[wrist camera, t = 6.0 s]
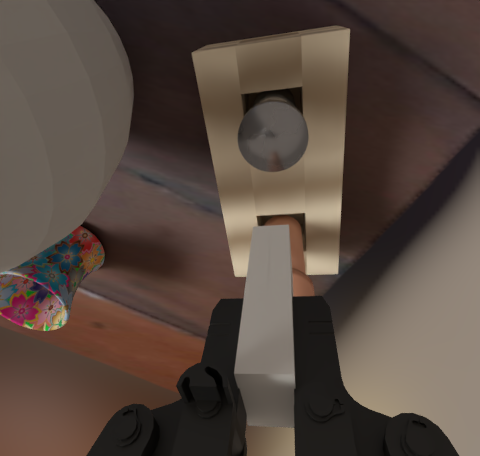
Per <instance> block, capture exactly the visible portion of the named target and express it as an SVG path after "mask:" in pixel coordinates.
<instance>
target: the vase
mask: <svg viewBox="0 0 480 456" xmlns="http://www.w3.org/2000/svg"><path fill="white" fill-rule="evenodd" d="M133 100H134V88H133V76H132V72H131V68H130V64H129V59H128V56H127V54H126V51H125V49H124V46H123V44H122V42H121V39H120V37H119V35H118V34H117V32H116V30H115V29H114V27H113V25H112V23H111V22H110V20H109V18H108V17H107V16H106V14H105V13H104V12H103V11H102V9H101V8H100V7H99V6H98V5H97V3H96V2H95V1H94V0H0V273H2V272H4V271H7V270H9V269H12V268H14V267H17V266H19V265H21V264H22V263H24V262H26V261H27V260H29V259H31V258H32V257H34V256H35V255H37V254H39V253H40V252H42V251H44V250H45V249H47V248H48V247H50V246H52V245H53V244H55V243H57V242H58V241H60V240H61V239H63V238H65V237H66V236H67V235H69V234H70V233H71V232H72V231H74V230H75V229H76V228H77V227H79V226H80V225H81V224H82V223H83V222H84V220H85V219H86V218H87V216H88V215H89V213H90V212H91V211H92V209H93V208H94V206H95V205H96V203H97V201H98V200H99V198H100V196H101V194H102V192H103V191H104V189H105V187H106V185H107V184H108V182H109V180H110V178H111V177H112V175H113V173H114V171H115V170H116V168H117V166H118V164H119V163H120V161H121V159H122V156H123V154H124V151H125V148H126V145H127V143H128V139H129V131H130V123H131V116H132V108H133Z"/></svg>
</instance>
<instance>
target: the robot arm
mask: <svg viewBox="0 0 480 456" xmlns="http://www.w3.org/2000/svg"><path fill="white" fill-rule="evenodd" d="M176 386H177V388H178V391H179V393H180V395H181V397H182V399H180V400H179V401H176V402H174V403H172V404H169V405H165V406H163V407H159V408H156V409H153V410H150V409H149V408H147V407H146V406H144V405H142V404H132V405H129V406H126V407H124V408H122V409H121V410H119V411H118V412H116V413H115V414H114V415H113V417H112V418H111V419H110V420H109V421H108V423H107V424H106V426H105V428H104V429H103V431H102V432H101V434H100V435H99V437H98V438H97V440H96V442H95V443H94V445H93V446H92V448H91V450H90V451H89V453H88V454H87V456H247V445H246V438H245V431H246V419H247V423H248V425H249V426H271V427H291V428H295V456H459V455H458V453H457V452H456V450H455V448H454V447H453V445H452V444H451V442H450V440H449V439H448V437H447V436H446V435H445V434H444V433H443V432H442V430H441V429H440V428H439V427H438V426H437V425H436V424H434V423H433V422H431V421H430V420H429V419H427V418H425V417H423V416H419V415H417V414H414V413H401V414H399V415H397V416H395V417H393V418H391V417H389V416H386V415H383V414H381V413H378V412H375V411H372V410H370V409H368V408H366V407H364V406H362V405H360V404H359V403H358V402H356V401H355V400H354V399H353V398H352V397H351V396H350V395H349V394H348V392H347V390H346V389H345V387H344V385H343V381H342V378H341V372H340V366H339V360H338V354H337V348H336V341H335V336H334V329H333V324H332V318H331V311H330V307H329V305H328V304H327V303H326V301H325V300H324V298H323V297H322V296H293V273H292V260H291V246H290V232H289V224H288V225H272V226H256V227H253V231H252V239H251V246H250V254H249V262H248V269H247V277H246V285H245V292H244V298H242V299H221V300H220V301H219V302H218V304H217V305H216V307H215V308H214V309H213V312H212V316H211V321H210V326H209V329H208V336H207V338H206V342H205V347H204V351H203V356H202V360H201V363H197V364H195V365H193V366H192V367H190V368H188V369H187V370H186V371H185V372H184V373H183V374H182V375H181V377H180V379H179V381H178V383H177V385H176Z"/></svg>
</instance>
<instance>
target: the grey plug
mask: <svg viewBox="0 0 480 456" xmlns="http://www.w3.org/2000/svg"><path fill="white" fill-rule="evenodd" d="M308 138H309V135H308V128H307V124H306V121H305V119H304V117H303V115H302V114H301V112H300V111H299V110H298V109H297V108H296V103H295V98H294V96H293V94H292V93H291V91H290V90H289V89H288V88H286V89H278V90H270V91H262V92H259V93H258V94H257V95H256V98H255V100H254V104H253V107H252V108H251V109H250V110H249V111H248V112H247V113H246V114H245V116H244V117H243V119H242V121H241V124H240V127H239V130H238V138H237V139H238V146H239V150H240V152H241V154H242V156H243V157H244V159H245V160H246V161H247V162H248V163H249V164H250V165H251V166H253V167H255V168H257V169H259V170H261V171H266V172H279V171H283V170H286V169H288V168H290V167H292V166H293V165H295V164H296V163H297V162H298V161H299V160H300V159H301V158H302V156H303V154H304V153H305V151H306V148H307V145H308Z"/></svg>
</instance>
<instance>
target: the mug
mask: <svg viewBox="0 0 480 456" xmlns="http://www.w3.org/2000/svg"><path fill="white" fill-rule="evenodd" d="M104 259H105V252H104V249H103V246H102V244H101V243H100V241H99V240H98V239H97V237H96V236H95V235H94V234H92V233H91V232H90V231H89V230H87V229H85V228H84V227H82V226H79V227H77V228H76V229H75V230H74V231H72V232H71V233H70V234H69V235H67V236H66V237H65V238H63V239H61V240H60V241H58V242H57V243H55V244H53V245H52V246H50V247H48V248H47V249H45V250H44V251H42V252H40V253H39V254H37V255H35V256H34V257H32V258H31V259H29V260H27V261H26V262H24V263H22V264H21V265H19V266H17V267H14V268H12V269H9V270H7V271H4V272H2V273H0V314H1V315H2V316H3V317H5V318H7V319H8V320H10V321H12V322H14V323H16V324H18V325H21V326H23V327H26V328H30V329H34V330H42V331H49V330H55V329H59V328H61V327H62V326H64V325H65V324H66V323H67V321H68V319H69V316H70V309H71V304H72V300H73V297H74V294H75V292H76V290H77V288H78V286H79V285H80V283H81V282H82V281H83V279H84V278H85V277H86V276H87V275H88V274H90V273H91V272H93V271H96V270H97V269H99V268H100V267H101V266H102V264H103V262H104Z"/></svg>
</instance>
